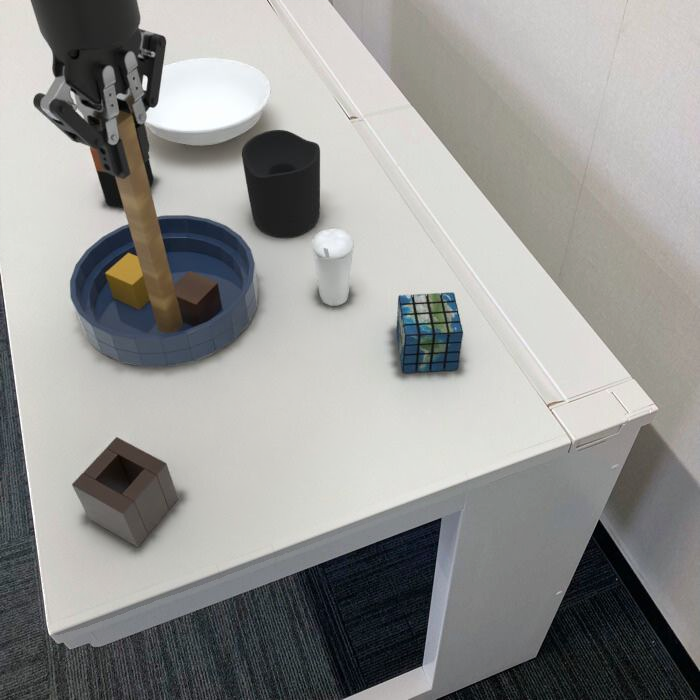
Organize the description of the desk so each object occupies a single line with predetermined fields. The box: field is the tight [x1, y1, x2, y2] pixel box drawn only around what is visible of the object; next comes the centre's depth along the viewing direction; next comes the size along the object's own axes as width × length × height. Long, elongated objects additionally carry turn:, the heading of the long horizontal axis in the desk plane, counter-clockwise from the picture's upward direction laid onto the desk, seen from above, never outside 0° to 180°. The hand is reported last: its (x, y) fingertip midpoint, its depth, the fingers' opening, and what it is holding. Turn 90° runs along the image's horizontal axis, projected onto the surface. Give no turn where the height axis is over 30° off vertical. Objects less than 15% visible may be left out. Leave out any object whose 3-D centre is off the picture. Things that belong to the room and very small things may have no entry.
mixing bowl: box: [69, 214, 259, 368], centre depth 88 cm, size 20×20×5 cm
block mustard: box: [105, 253, 150, 310], centre depth 88 cm, size 4×4×4 cm
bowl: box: [142, 57, 272, 147], centre depth 111 cm, size 20×20×6 cm
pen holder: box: [241, 129, 321, 238], centre depth 96 cm, size 9×9×10 cm
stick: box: [99, 110, 183, 334], centre depth 75 cm, size 2×2×26 cm
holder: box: [71, 436, 179, 548], centre depth 69 cm, size 6×6×6 cm
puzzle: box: [395, 291, 464, 374], centre depth 82 cm, size 6×6×6 cm
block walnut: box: [174, 271, 222, 327], centre depth 86 cm, size 4×4×4 cm
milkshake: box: [311, 227, 355, 307], centre depth 86 cm, size 4×5×10 cm
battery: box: [89, 146, 155, 208], centre depth 100 cm, size 4×7×10 cm, turn 168°
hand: (128, 166), depth 69 cm, fingers closed on stick, 2 cm apart
